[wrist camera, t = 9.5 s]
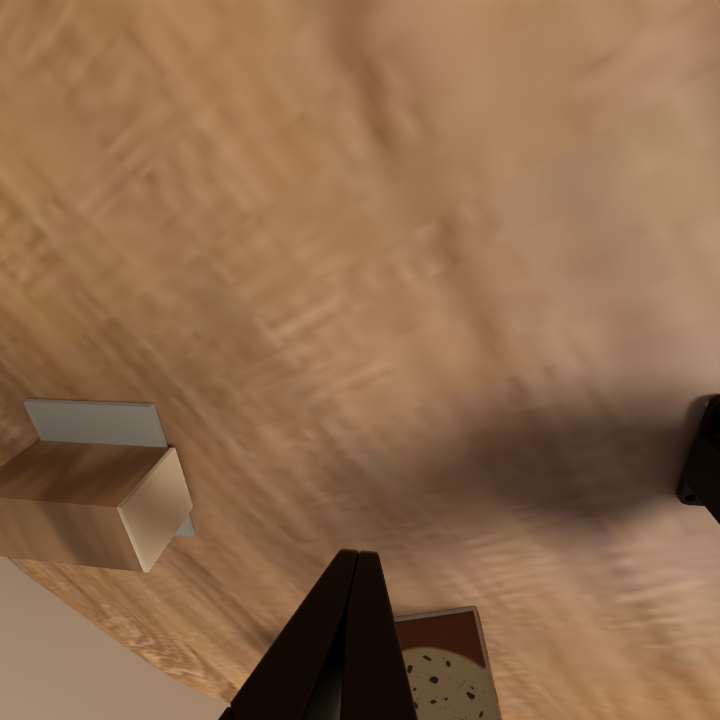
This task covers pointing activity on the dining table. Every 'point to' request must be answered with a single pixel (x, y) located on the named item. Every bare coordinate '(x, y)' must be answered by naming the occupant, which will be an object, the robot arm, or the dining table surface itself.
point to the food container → (448, 665)
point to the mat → (100, 427)
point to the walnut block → (92, 504)
